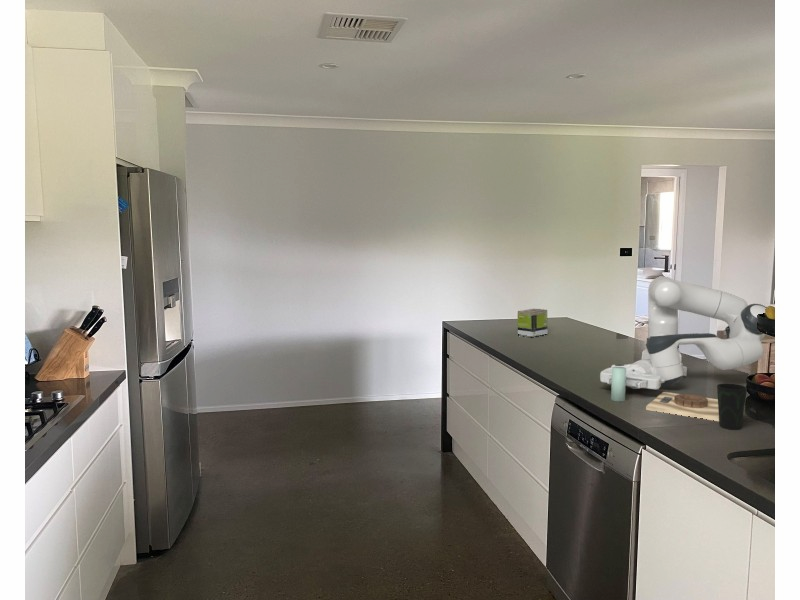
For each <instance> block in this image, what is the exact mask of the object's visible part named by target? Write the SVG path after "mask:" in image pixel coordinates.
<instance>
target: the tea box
mask: <svg viewBox="0 0 800 600" xmlns="http://www.w3.org/2000/svg"><path fill="white" fill-rule="evenodd" d="M548 332H549V331H548V309H544V308H543V309H541V308H529V309H522V310H521V309H520V310H518V311H517V335H518V334H521V335H527V336H536V335H542V334H548Z"/></svg>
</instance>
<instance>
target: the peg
mask: <svg viewBox="0 0 800 600" xmlns="http://www.w3.org/2000/svg"><path fill="white" fill-rule="evenodd" d="M610 385H611V389H610V390H611V391H610V393H611V395H610V400H611V401H614V402H620V401H621V402H625V401H626V387H627V386H626V368H624V367H612V384H610Z"/></svg>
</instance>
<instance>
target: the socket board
mask: <svg viewBox="0 0 800 600" xmlns="http://www.w3.org/2000/svg"><path fill="white" fill-rule="evenodd" d="M645 410H646V411H652V412H656V411H657V412H658V413H663V412H664V413H665V414H669V413H670V415H675V414H677V416H681V415H682V416H683V417H688V416H690V417H689V418H694V417H697V418H696V419H700V418H703V419H702V420H706V419H707V420H708V421H713V420H714V421H715V422H719V411H718V398H710V397H705V396H702V395H697V394H690V393H677V392H676V393H674V392H668V391H663V392H661V393H660V394H659V395H657V396H656V397H655V398H654V399H653V400H652V401H650V402H649V403H648V404H647V405H645Z"/></svg>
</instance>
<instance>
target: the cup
mask: <svg viewBox="0 0 800 600" xmlns="http://www.w3.org/2000/svg"><path fill="white" fill-rule="evenodd" d="M716 391H717V399H718V411H719V421H718V423H719V424H718V425H719V427H720V428H722V429H725V430H733V431H736V430H741V429H742V424H743V417H744V412H745V406H746V401H747V399H746V398H747V392H748V387H746V386H745V385H742V384H737V383H718V384H716Z"/></svg>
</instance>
